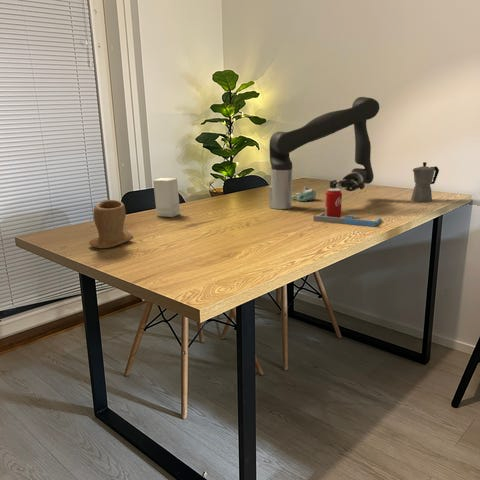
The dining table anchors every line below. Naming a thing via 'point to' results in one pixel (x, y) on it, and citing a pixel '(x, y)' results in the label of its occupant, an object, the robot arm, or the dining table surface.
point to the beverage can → (333, 203)
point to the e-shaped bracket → (346, 220)
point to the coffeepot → (423, 183)
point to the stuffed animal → (305, 195)
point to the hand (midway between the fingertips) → (342, 187)
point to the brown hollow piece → (110, 224)
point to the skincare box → (166, 197)
